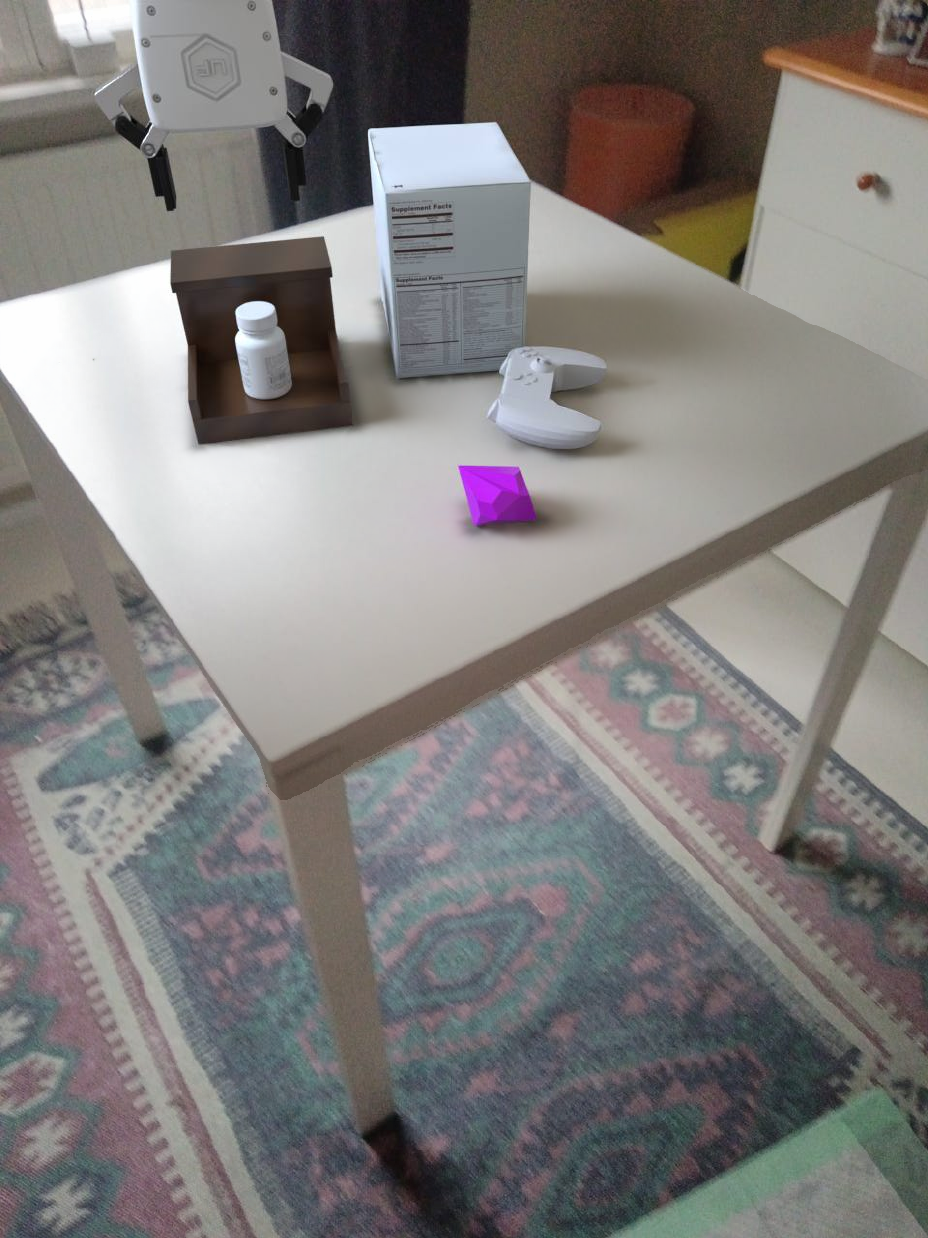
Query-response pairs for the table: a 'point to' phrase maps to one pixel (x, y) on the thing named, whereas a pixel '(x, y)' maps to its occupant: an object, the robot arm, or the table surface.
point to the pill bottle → (262, 351)
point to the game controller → (546, 396)
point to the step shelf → (304, 314)
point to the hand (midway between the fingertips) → (233, 199)
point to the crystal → (496, 494)
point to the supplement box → (450, 245)
